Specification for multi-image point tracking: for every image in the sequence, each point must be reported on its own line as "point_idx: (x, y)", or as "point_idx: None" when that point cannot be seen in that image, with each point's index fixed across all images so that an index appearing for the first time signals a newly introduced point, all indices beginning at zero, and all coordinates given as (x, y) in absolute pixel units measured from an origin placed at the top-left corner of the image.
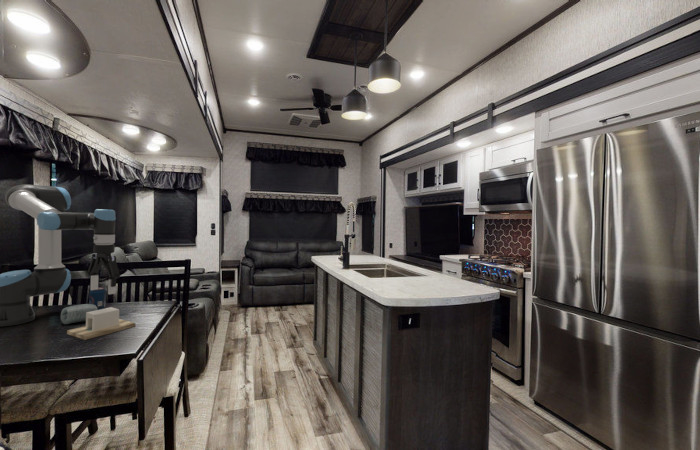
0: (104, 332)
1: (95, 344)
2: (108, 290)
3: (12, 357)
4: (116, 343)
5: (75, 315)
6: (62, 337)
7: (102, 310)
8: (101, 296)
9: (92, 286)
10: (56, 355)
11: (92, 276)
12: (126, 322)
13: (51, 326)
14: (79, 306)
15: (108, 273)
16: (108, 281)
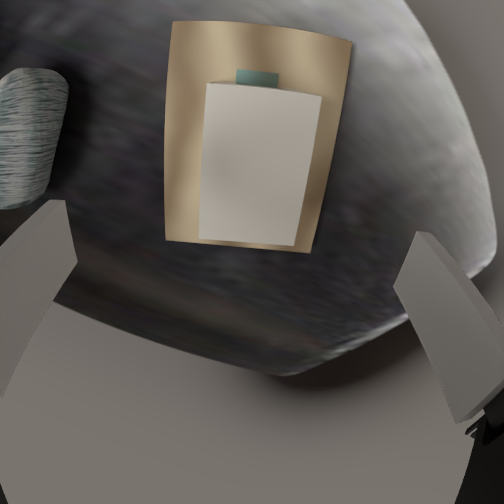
0: (325, 183)
1: (379, 255)
2: (413, 314)
3: (258, 364)
4: (433, 226)
5: (46, 172)
6: (199, 258)
7: (239, 166)
8: None
9: (57, 280)
10: (345, 331)
11: (1, 386)
12: (298, 46)
13: (36, 210)
14: (7, 162)
15: (470, 494)
16: (448, 399)
